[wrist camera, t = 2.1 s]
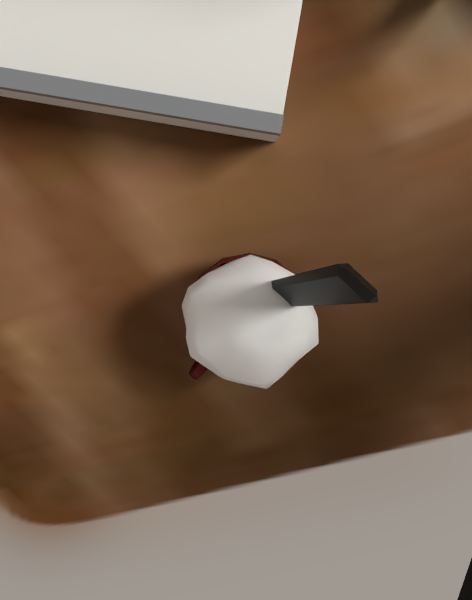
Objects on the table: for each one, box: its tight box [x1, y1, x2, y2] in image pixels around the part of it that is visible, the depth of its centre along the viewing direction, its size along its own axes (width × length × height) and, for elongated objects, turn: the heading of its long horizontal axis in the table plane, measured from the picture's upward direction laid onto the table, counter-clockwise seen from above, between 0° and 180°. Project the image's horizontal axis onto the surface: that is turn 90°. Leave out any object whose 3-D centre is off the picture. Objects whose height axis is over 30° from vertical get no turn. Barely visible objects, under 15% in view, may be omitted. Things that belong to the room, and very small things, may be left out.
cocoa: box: [182, 253, 378, 389], centre depth 20 cm, size 10×6×12 cm, turn 117°
